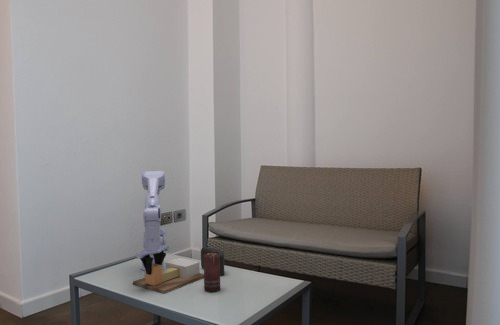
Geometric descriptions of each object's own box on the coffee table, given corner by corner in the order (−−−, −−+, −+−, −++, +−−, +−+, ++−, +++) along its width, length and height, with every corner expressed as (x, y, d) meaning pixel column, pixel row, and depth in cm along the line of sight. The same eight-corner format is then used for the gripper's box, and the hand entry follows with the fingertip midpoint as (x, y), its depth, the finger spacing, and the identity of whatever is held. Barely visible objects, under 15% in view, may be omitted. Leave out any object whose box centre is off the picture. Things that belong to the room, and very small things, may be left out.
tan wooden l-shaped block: (145, 283, 158) (145, 265, 158) (172, 273, 170) (172, 257, 170) (154, 285, 155) (153, 267, 155) (180, 275, 167) (180, 259, 167)
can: (208, 293, 151) (207, 256, 150) (201, 288, 156) (201, 252, 156) (223, 290, 153) (222, 254, 153) (216, 285, 159) (216, 250, 158)
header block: (165, 273, 171) (165, 262, 171) (179, 268, 178) (179, 257, 178) (186, 278, 164) (185, 266, 164) (199, 273, 171) (199, 262, 171)
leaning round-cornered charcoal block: (230, 274, 173) (229, 252, 173) (221, 276, 170) (221, 254, 170) (208, 266, 186) (208, 245, 185) (200, 268, 183) (199, 247, 182)
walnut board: (132, 284, 161) (132, 281, 161) (175, 269, 180) (175, 267, 180) (163, 293, 151) (163, 290, 151) (205, 277, 170) (205, 274, 169)
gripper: (144, 243, 150) (145, 279, 150) (173, 235, 161) (174, 269, 162) (132, 240, 154) (133, 276, 154) (161, 233, 165) (162, 266, 166)
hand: (153, 272), depth 158 cm, fingers closed on tan wooden l-shaped block, 4 cm apart
